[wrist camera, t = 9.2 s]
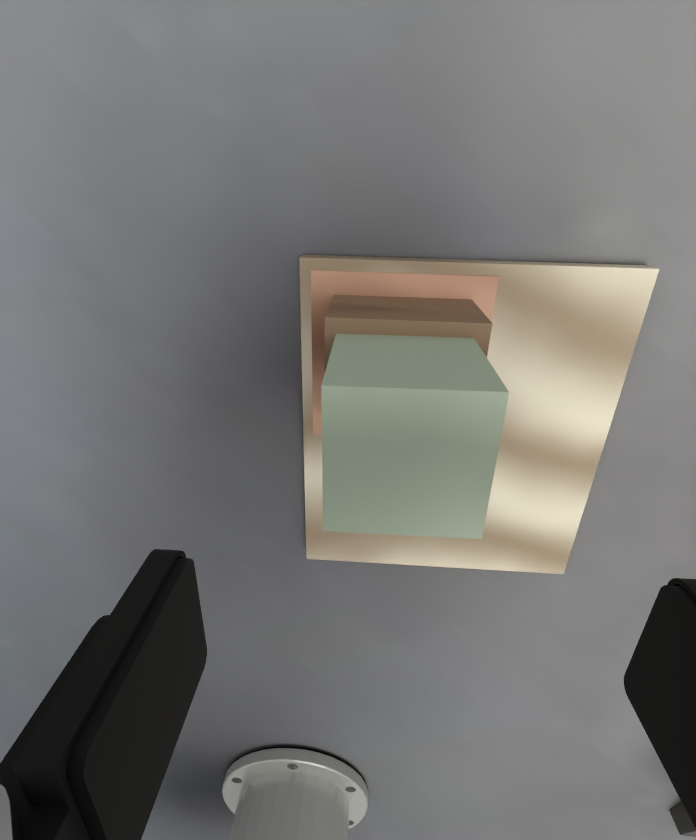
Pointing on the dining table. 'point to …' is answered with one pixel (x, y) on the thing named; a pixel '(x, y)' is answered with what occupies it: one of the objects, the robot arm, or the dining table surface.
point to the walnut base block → (405, 318)
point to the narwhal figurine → (683, 820)
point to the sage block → (409, 435)
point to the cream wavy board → (527, 402)
